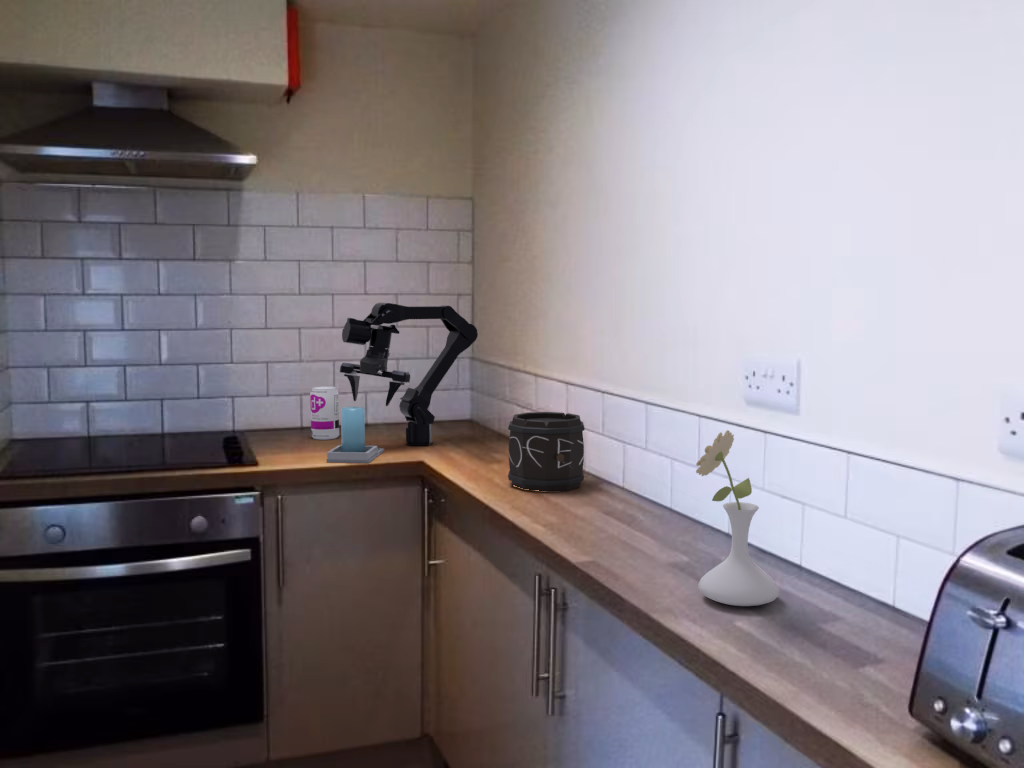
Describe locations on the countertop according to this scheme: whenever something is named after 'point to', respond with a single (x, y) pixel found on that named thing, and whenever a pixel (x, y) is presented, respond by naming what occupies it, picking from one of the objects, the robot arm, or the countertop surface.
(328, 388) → the supplement can
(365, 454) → the kitchen sink with drainboard
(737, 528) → the flower in vase
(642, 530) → the countertop surface
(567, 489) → the wooden barrel
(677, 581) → the countertop surface
